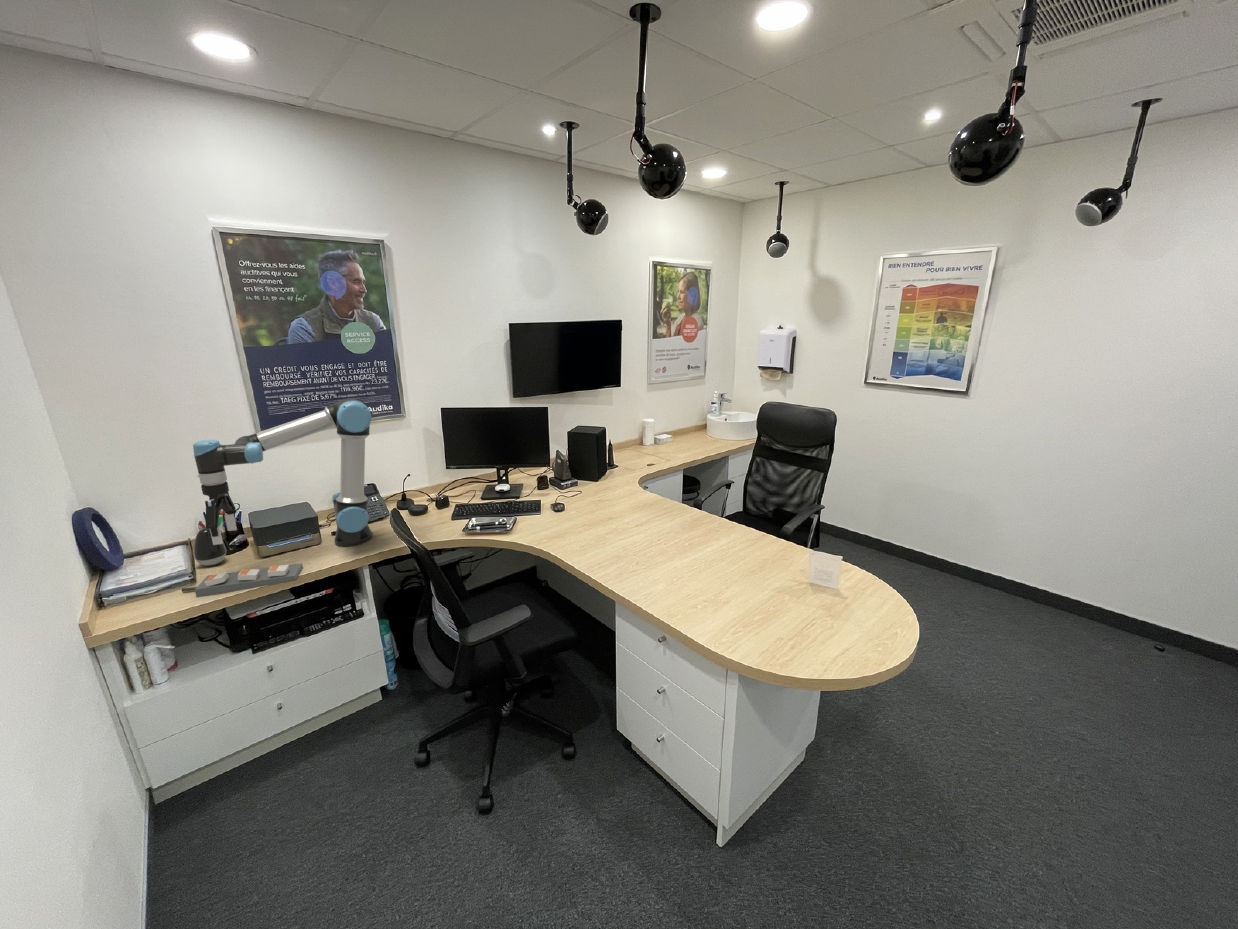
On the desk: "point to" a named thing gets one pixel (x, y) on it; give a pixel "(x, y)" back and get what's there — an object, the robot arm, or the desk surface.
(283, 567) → the rocker
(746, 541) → the desk surface
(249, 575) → the block
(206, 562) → the dark grey rounded dome
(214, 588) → the power strip
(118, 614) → the desk surface
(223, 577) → the rocker
